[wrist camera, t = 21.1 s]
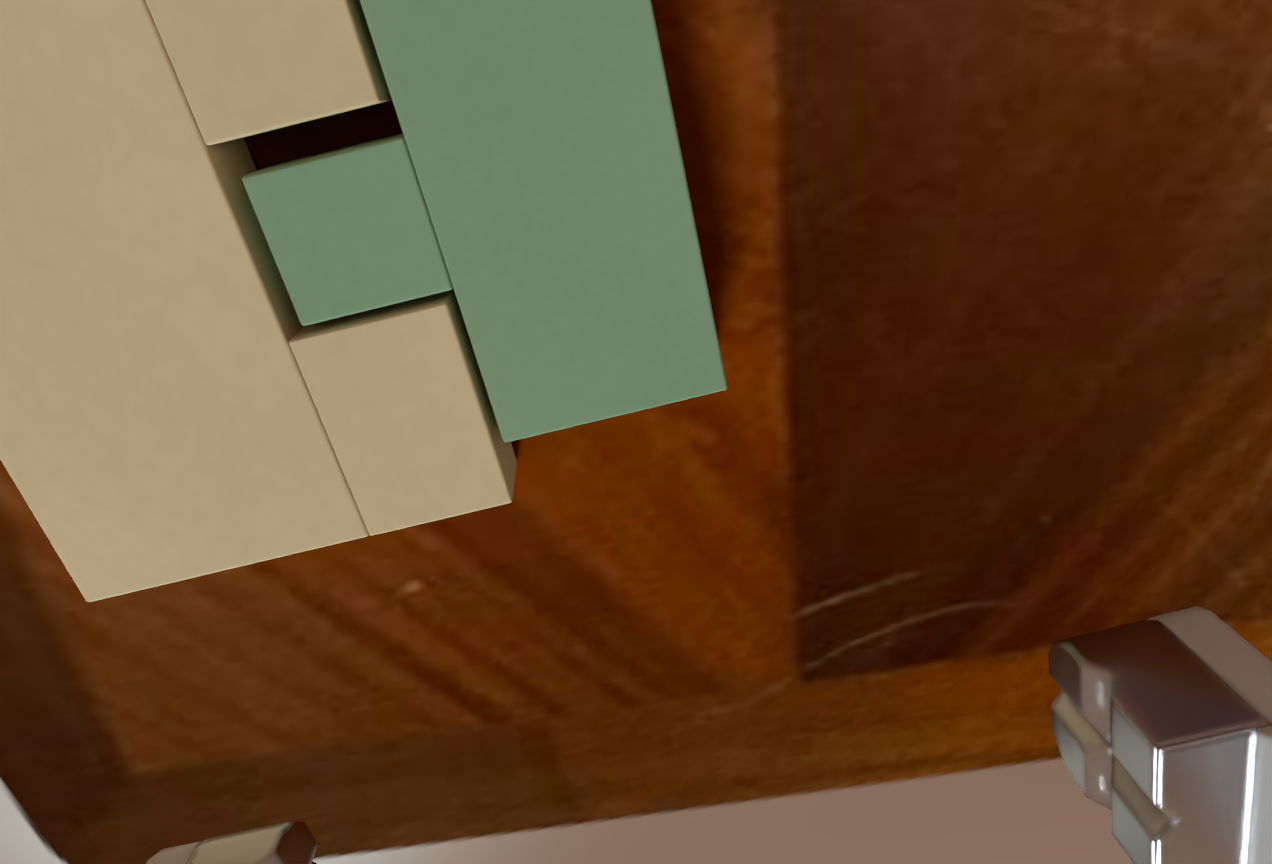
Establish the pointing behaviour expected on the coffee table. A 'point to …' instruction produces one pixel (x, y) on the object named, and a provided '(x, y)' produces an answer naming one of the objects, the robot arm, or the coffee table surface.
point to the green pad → (515, 206)
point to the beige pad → (204, 304)
